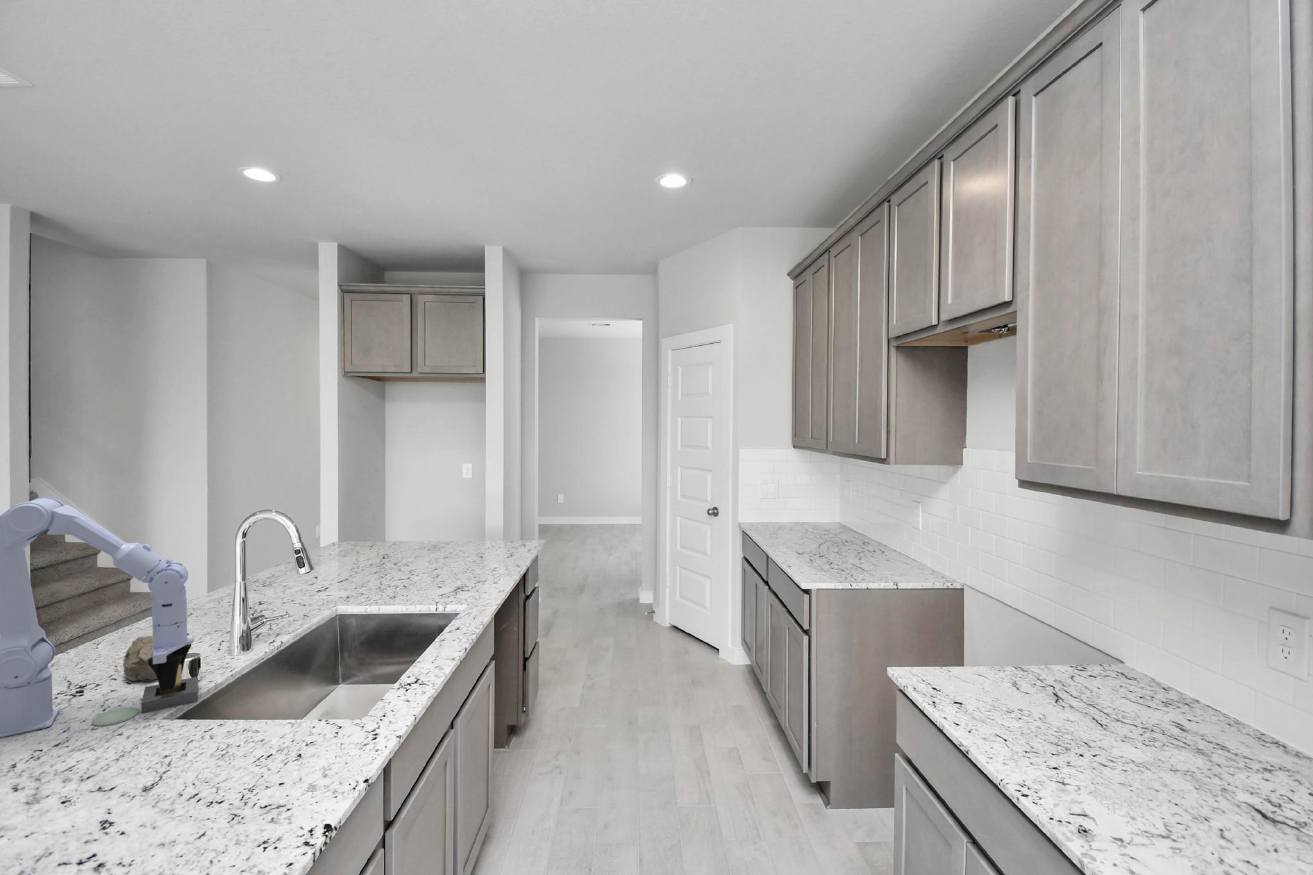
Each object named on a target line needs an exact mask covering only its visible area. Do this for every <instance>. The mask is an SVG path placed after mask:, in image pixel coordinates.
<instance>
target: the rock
mask: <svg viewBox="0 0 1313 875" xmlns="http://www.w3.org/2000/svg"><path fill="white" fill-rule="evenodd" d="M152 644H153V635H148V636H138V637H137V638H136V639H135V640H133V641H132V642H131V645H129V647H128V648H127V650H126V653H125V655H124V656H123V660H122V662H123V663H122V665H123V673H124V677H126V678H127V679H128V680H129V681H133V682H135V681H144V682H151V681H154V680H158V679H157V677H156V674H155V672H154V671H153V669H152V668H151V667H150V666H149V665H148V660H149V659H150V658H151V657H153V651H152Z"/></svg>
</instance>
